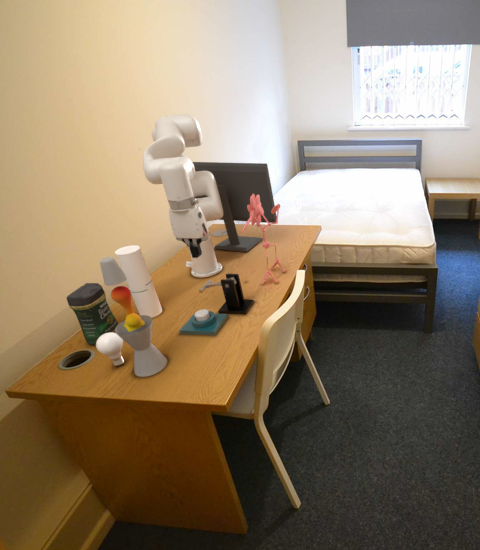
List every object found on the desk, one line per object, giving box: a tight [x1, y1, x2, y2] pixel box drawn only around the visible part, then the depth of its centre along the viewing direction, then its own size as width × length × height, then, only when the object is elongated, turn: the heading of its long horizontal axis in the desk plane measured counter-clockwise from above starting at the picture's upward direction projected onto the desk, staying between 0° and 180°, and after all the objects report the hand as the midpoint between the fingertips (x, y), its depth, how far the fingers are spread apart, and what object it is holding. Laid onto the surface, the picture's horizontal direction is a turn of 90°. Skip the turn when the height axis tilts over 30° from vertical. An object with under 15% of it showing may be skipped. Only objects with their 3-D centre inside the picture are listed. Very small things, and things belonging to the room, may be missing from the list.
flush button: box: [194, 308, 210, 322], centre depth 121 cm, size 4×4×2 cm
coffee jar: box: [66, 282, 119, 346], centre depth 115 cm, size 10×8×19 cm
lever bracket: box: [217, 273, 255, 316], centre depth 129 cm, size 10×8×13 cm
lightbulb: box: [95, 332, 125, 367], centre depth 105 cm, size 6×6×11 cm
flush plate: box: [179, 310, 229, 336], centre depth 122 cm, size 12×10×4 cm
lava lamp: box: [99, 256, 168, 378], centre depth 98 cm, size 9×9×35 cm
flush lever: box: [198, 277, 237, 294], centre depth 128 cm, size 12×7×2 cm, turn 85°
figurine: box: [241, 194, 286, 285], centre depth 144 cm, size 15×26×35 cm, turn 171°
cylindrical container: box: [114, 244, 163, 319], centre depth 125 cm, size 7×7×25 cm
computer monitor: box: [192, 161, 279, 253], centre depth 172 cm, size 44×16×40 cm, turn 77°
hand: (197, 256), depth 122 cm, fingers closed
